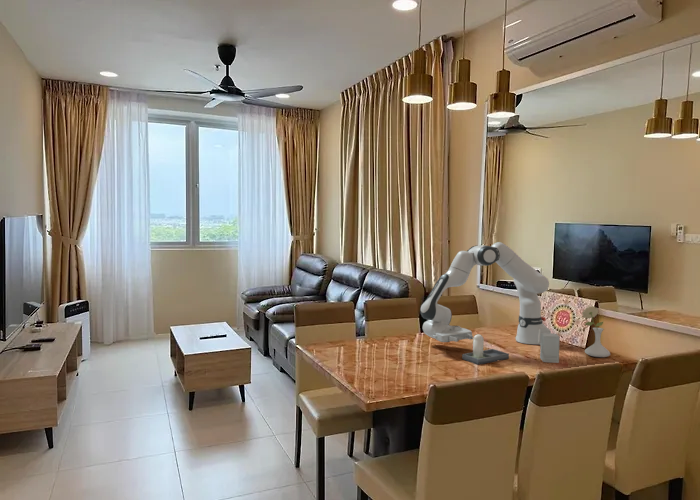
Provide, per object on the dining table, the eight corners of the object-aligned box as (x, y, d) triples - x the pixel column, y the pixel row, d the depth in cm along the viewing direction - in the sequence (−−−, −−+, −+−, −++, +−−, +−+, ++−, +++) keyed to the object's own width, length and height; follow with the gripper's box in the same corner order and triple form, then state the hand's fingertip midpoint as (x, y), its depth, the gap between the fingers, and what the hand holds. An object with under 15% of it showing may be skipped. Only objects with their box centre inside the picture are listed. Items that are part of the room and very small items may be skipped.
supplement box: (559, 363, 226) (560, 336, 225) (542, 362, 227) (543, 336, 227) (555, 358, 233) (556, 333, 232) (539, 357, 235) (540, 332, 234)
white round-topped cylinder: (477, 356, 233) (478, 333, 233) (485, 358, 229) (485, 334, 229) (470, 357, 231) (471, 333, 231) (478, 359, 227) (478, 335, 226)
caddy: (492, 353, 242) (492, 348, 242) (508, 358, 233) (508, 353, 233) (462, 359, 232) (462, 354, 232) (478, 364, 223) (478, 359, 223)
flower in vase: (608, 354, 242) (609, 305, 240) (612, 360, 231) (613, 308, 230) (579, 351, 246) (580, 303, 245) (582, 357, 235) (583, 307, 234)
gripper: (430, 329, 244) (448, 334, 232) (460, 325, 254) (479, 330, 242) (430, 341, 245) (448, 347, 233) (460, 337, 255) (479, 342, 243)
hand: (464, 338), depth 238 cm, fingers open, 8 cm apart
